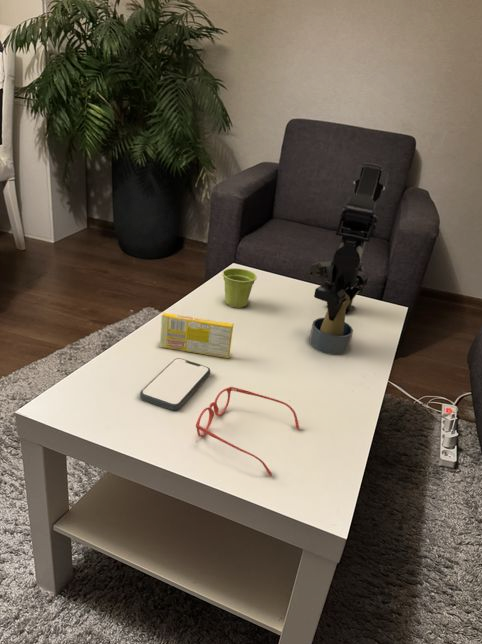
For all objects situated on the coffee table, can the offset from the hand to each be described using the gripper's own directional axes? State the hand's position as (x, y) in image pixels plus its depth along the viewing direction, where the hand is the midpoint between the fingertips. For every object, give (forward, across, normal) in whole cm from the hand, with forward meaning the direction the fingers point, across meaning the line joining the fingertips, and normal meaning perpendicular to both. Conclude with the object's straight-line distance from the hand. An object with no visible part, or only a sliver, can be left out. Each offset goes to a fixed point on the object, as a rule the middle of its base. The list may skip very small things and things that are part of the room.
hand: (335, 317), depth 133 cm
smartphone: (+8, +41, -16) cm, 45 cm away
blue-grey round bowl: (+8, 0, 0) cm, 8 cm away
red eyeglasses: (+8, +45, +4) cm, 46 cm away
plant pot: (+8, -2, -30) cm, 31 cm away
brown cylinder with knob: (+5, 0, 0) cm, 5 cm away
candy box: (+8, +27, -22) cm, 36 cm away
